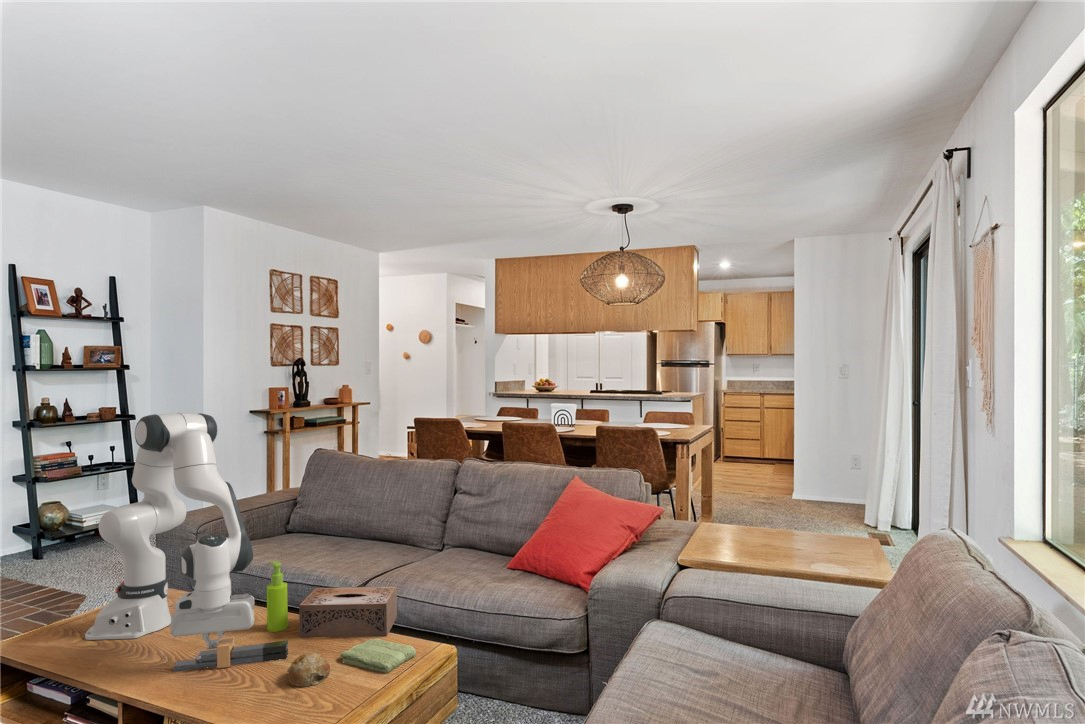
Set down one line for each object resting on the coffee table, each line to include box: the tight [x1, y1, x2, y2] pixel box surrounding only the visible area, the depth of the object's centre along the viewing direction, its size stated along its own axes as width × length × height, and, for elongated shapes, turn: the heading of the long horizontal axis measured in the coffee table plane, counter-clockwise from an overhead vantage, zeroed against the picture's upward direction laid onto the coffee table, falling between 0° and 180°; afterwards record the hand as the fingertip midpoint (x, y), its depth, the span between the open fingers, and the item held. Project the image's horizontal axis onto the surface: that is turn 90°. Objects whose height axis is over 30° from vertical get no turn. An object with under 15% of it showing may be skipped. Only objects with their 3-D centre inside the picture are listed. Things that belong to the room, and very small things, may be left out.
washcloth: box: [340, 638, 417, 674], centre depth 175 cm, size 13×18×3 cm
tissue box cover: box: [298, 586, 398, 639], centre depth 196 cm, size 26×14×10 cm, turn 91°
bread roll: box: [286, 652, 331, 688], centre depth 164 cm, size 10×10×8 cm
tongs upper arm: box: [194, 640, 289, 662], centre depth 174 cm, size 23×3×2 cm, turn 104°
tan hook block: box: [216, 636, 236, 669], centre depth 173 cm, size 3×6×6 cm, turn 14°
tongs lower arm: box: [173, 647, 289, 673], centre depth 173 cm, size 28×3×2 cm, turn 104°
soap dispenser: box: [266, 560, 289, 633], centre depth 197 cm, size 6×7×20 cm
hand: (213, 647), depth 172 cm, fingers closed
